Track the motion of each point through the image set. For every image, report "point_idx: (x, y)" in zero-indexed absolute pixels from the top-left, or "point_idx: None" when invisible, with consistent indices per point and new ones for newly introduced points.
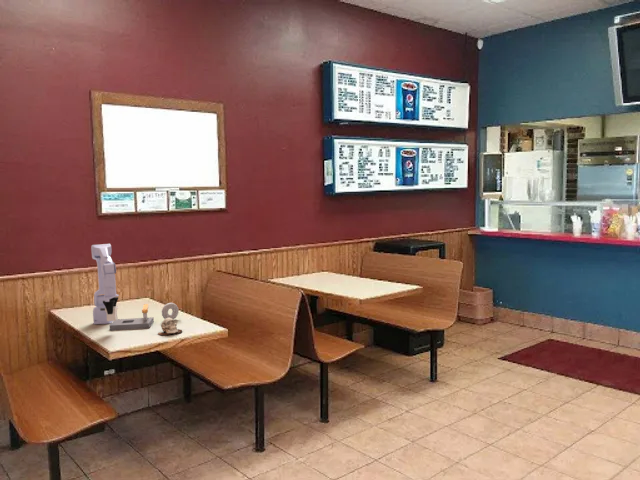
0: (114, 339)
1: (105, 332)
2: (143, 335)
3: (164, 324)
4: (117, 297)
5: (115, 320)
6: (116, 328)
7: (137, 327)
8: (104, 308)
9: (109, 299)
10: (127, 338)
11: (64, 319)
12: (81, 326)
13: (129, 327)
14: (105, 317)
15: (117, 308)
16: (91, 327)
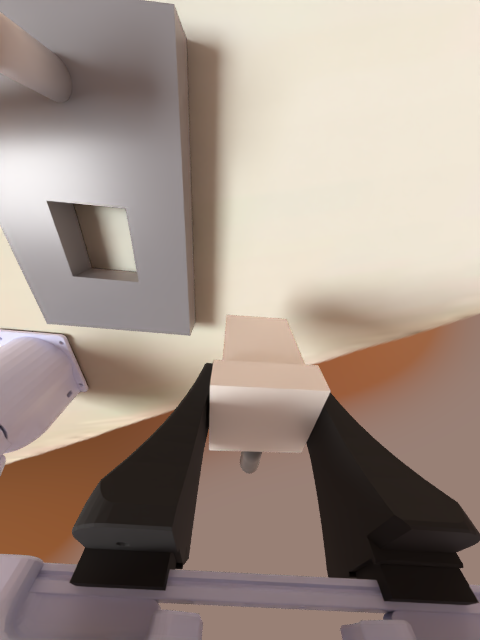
0: (395, 276)
1: None
2: (424, 69)
3: None
4: (111, 532)
5: (286, 319)
6: (192, 296)
7: (188, 160)
8: (259, 454)
9: (413, 605)
10: (426, 203)
11: (30, 455)
12: (118, 413)
13: (190, 223)
14: (46, 373)
15: (223, 365)
16: (135, 387)
